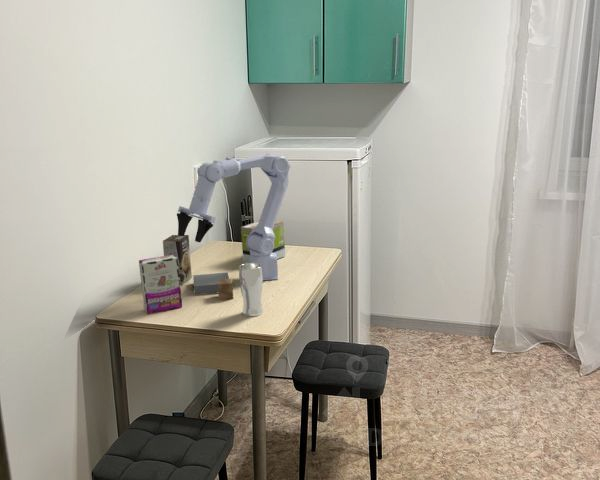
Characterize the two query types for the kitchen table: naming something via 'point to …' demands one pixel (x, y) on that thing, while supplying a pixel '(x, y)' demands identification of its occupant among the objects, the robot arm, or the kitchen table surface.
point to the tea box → (278, 241)
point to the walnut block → (225, 289)
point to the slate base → (208, 282)
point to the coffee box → (179, 255)
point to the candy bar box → (160, 283)
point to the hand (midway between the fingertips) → (188, 238)
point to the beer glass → (251, 288)
